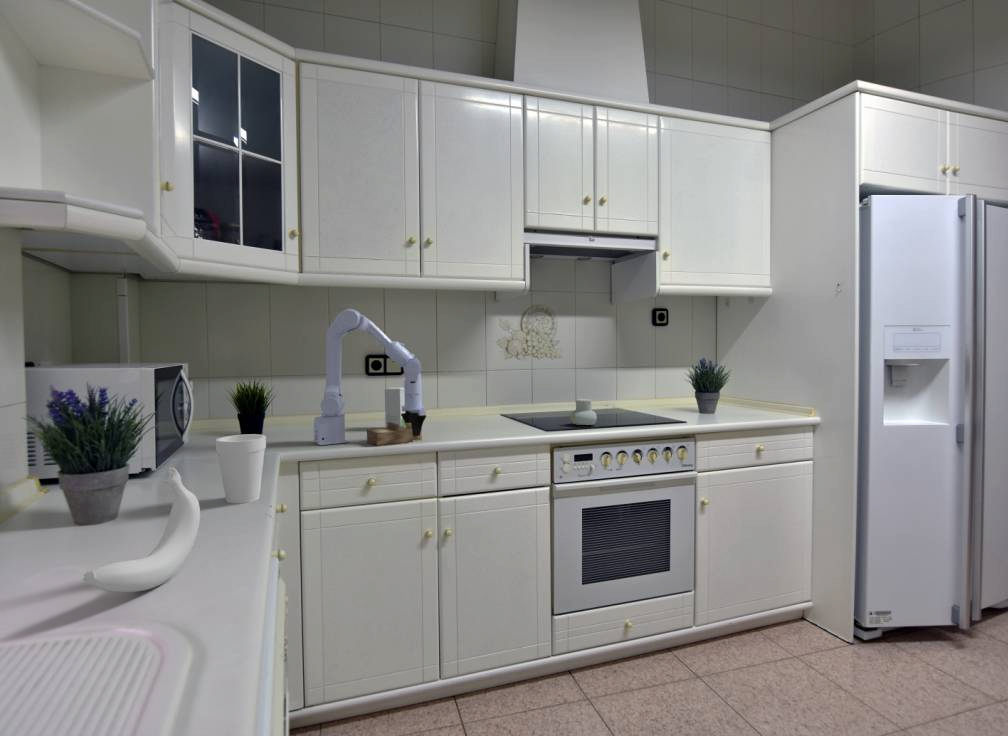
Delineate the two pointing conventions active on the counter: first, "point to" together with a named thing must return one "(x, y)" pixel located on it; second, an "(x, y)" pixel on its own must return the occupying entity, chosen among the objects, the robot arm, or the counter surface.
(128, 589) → the banana
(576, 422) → the air freshener
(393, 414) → the skincare box
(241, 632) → the counter surface
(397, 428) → the lid
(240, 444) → the foam cup
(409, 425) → the brown patterned block
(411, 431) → the brown wooden block
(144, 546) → the counter surface
